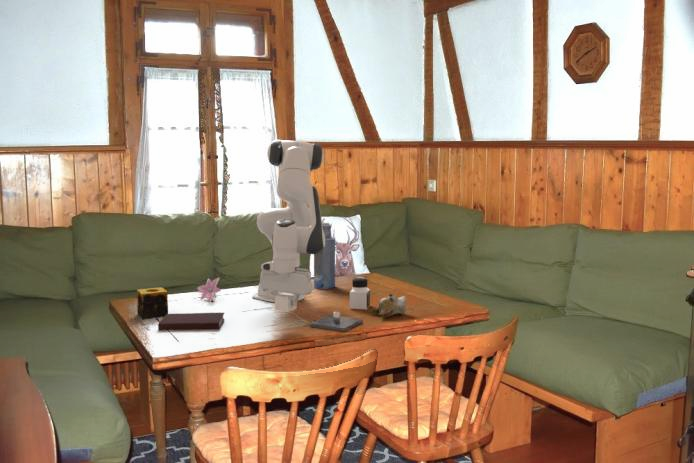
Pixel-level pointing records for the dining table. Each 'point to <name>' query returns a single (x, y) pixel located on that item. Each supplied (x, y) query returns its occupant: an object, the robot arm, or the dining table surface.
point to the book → (191, 321)
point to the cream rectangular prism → (284, 302)
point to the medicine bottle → (359, 294)
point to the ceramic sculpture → (390, 306)
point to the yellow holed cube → (152, 303)
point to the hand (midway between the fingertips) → (285, 304)
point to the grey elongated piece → (325, 262)
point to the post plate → (336, 322)
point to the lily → (209, 289)
